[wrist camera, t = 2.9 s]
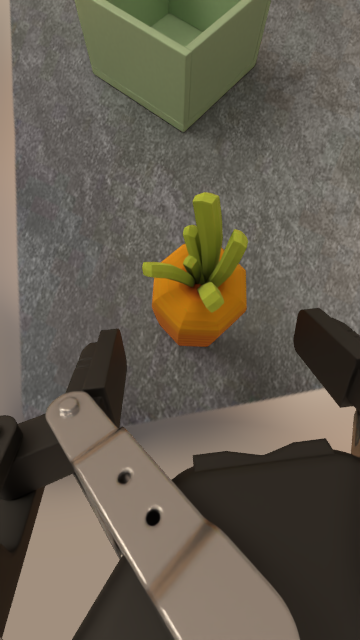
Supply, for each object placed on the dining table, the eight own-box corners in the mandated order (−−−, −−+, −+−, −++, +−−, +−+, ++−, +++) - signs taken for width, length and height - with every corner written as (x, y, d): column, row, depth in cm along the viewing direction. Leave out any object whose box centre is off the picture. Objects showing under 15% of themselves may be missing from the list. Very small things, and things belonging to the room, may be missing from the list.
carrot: (203, 371, 22) (259, 336, 7) (150, 346, 22) (104, 266, 8) (226, 319, 23) (313, 200, 9) (175, 296, 23) (175, 147, 9)
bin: (183, 133, 28) (185, 55, 22) (93, 73, 30) (70, -14, 24) (255, 65, 31) (276, -21, 25) (168, 15, 33) (166, -77, 27)
